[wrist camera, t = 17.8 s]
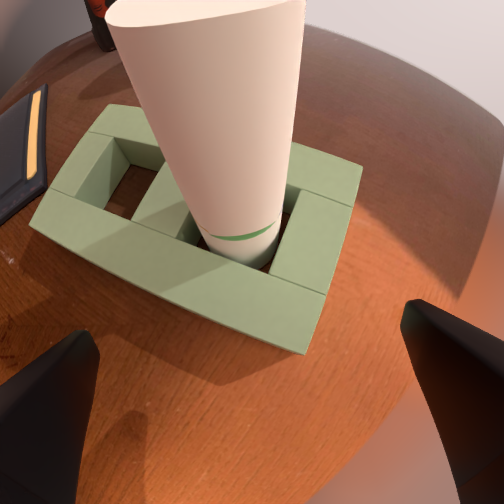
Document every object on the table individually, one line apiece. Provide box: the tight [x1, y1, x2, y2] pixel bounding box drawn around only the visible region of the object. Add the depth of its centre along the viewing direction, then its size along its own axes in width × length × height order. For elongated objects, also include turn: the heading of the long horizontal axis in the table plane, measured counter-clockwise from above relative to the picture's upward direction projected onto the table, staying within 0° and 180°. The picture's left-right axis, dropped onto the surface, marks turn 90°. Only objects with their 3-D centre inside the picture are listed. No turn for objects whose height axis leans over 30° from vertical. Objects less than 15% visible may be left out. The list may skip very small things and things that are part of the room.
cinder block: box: [29, 104, 363, 355], centre depth 17 cm, size 11×19×4 cm, turn 68°
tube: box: [105, 0, 306, 270], centre depth 11 cm, size 4×4×15 cm
